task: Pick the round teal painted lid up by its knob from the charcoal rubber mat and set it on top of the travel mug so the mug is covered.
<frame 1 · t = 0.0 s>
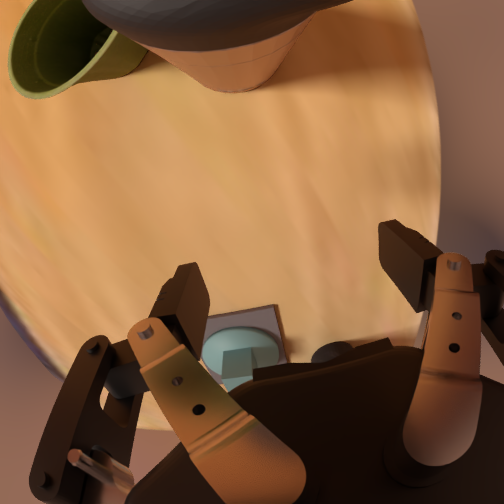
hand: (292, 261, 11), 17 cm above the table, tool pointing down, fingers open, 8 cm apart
plant pot: (120, 47, 19), on the table
travel mug: (332, 355, 40), on the table
lid: (240, 352, 38), point 1 cm above the table, touching mat
mat: (240, 349, 38), on the table
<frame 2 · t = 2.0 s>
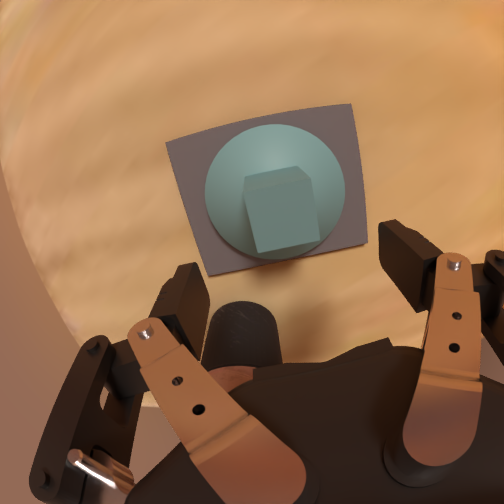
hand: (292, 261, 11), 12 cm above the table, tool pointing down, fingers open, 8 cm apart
travel mug: (243, 325, 29), on the table
lid: (275, 192, 21), point 1 cm above the table, touching mat
mat: (274, 190, 22), on the table
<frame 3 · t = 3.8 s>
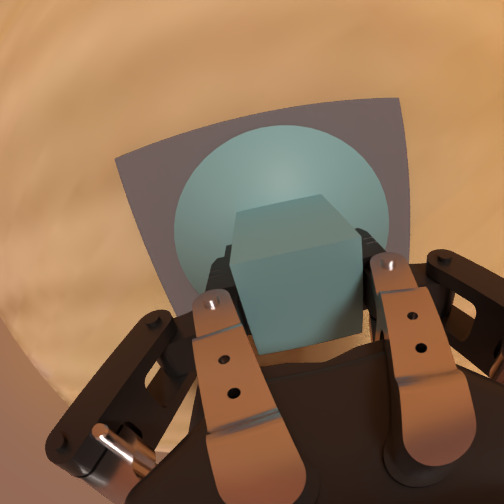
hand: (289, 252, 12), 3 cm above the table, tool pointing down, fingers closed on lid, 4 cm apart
travel mug: (239, 388, 21), on the table
lid: (284, 233, 14), point 1 cm above the table, touching gripper, mat
mat: (282, 229, 15), on the table
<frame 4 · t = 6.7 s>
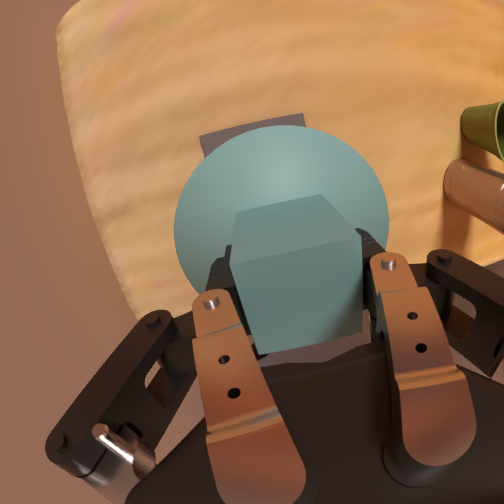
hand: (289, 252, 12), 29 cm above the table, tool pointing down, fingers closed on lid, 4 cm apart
plant pot: (471, 125, 33), on the table
lid: (284, 233, 14), point 27 cm above the table, touching gripper
mat: (260, 163, 38), on the table
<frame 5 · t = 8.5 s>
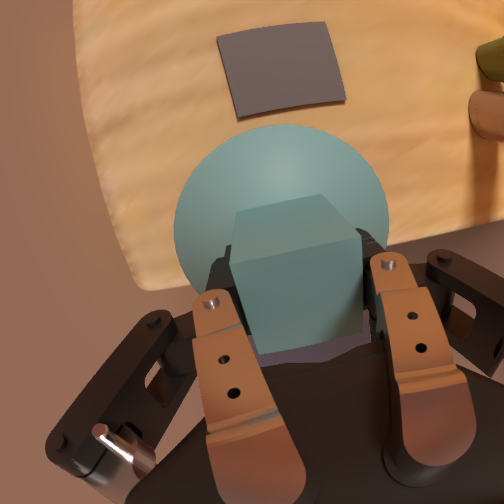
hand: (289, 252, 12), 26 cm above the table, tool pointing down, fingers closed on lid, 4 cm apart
plant pot: (486, 63, 25), on the table
lid: (284, 233, 14), point 24 cm above the table, touching gripper
mat: (282, 65, 29), on the table
when the fingers open (24 cm above the table, at t = 9.8 s): lid drops 1 cm, resting on travel mug.
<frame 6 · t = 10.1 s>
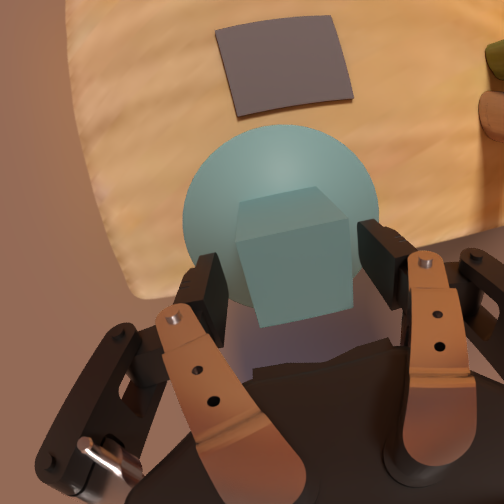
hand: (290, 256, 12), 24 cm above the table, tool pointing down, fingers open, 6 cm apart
plant pot: (495, 62, 22), on the table
lid: (283, 222, 15), point 20 cm above the table, touching travel mug
mat: (285, 60, 27), on the table
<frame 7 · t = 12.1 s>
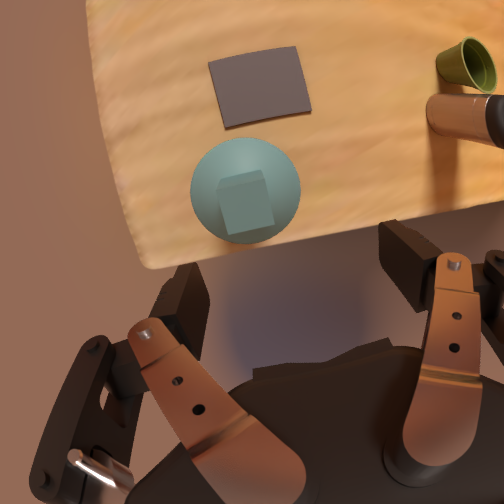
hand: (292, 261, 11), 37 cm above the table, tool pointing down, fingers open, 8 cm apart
plant pot: (446, 68, 35), on the table
lid: (245, 190, 27), point 20 cm above the table, touching travel mug
mat: (260, 84, 39), on the table
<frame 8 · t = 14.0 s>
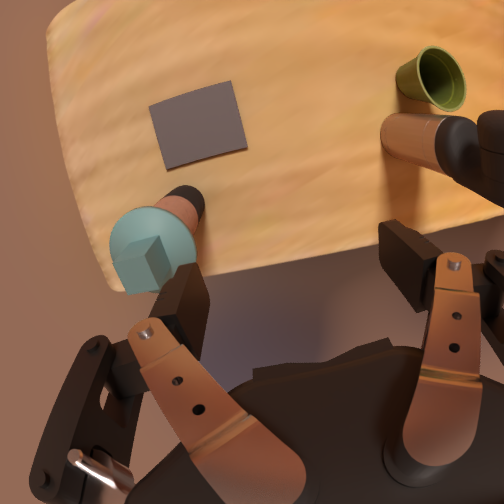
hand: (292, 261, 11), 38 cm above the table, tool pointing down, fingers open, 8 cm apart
plant pot: (409, 82, 38), on the table
travel mug: (186, 203, 49), on the table, touching lid
lid: (152, 250, 31), point 20 cm above the table, touching travel mug
mat: (197, 124, 43), on the table
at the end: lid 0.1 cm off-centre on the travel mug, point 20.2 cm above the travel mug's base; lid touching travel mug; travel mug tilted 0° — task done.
